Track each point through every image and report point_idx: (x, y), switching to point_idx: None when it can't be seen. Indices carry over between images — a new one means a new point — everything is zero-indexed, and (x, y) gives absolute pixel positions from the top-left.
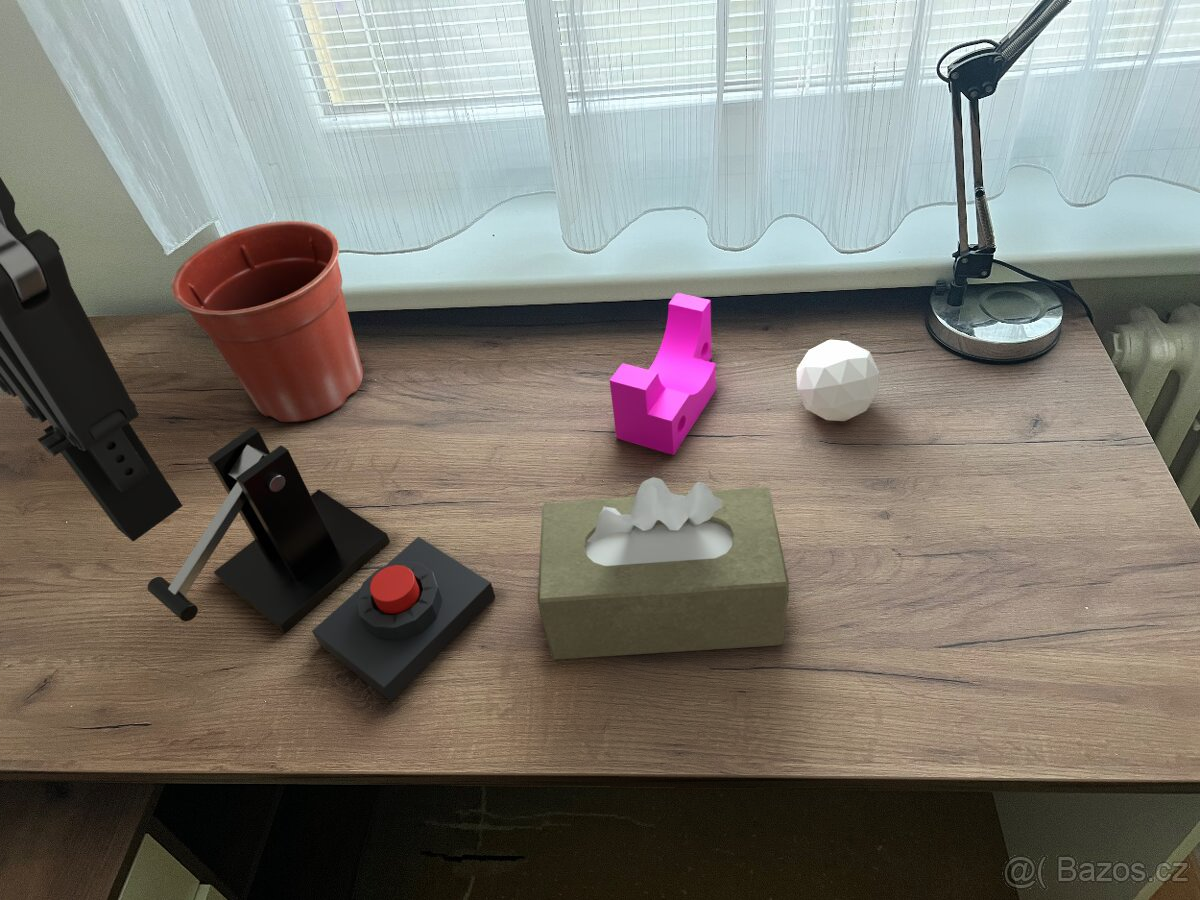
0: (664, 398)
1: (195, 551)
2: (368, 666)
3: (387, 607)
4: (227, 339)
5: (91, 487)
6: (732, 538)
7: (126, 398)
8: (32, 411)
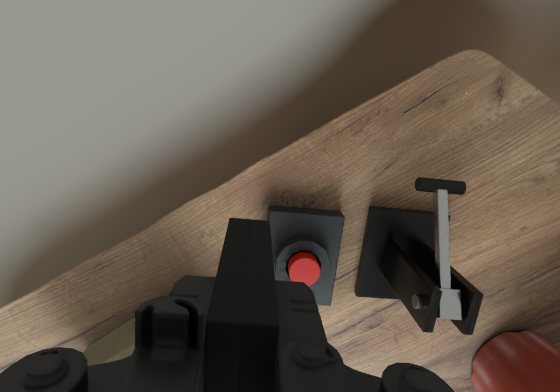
0: None
1: (445, 223)
2: (289, 216)
3: (297, 256)
4: None
5: (233, 259)
6: None
7: None
8: (295, 360)
